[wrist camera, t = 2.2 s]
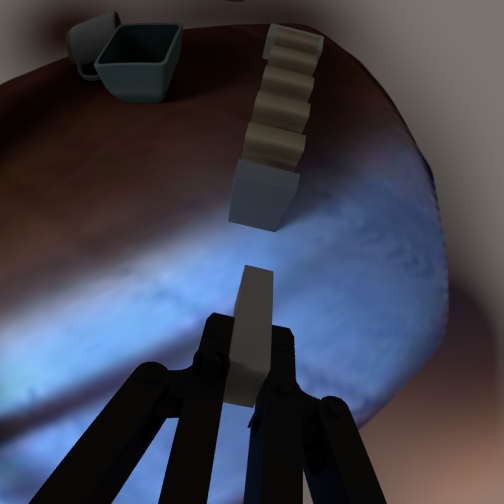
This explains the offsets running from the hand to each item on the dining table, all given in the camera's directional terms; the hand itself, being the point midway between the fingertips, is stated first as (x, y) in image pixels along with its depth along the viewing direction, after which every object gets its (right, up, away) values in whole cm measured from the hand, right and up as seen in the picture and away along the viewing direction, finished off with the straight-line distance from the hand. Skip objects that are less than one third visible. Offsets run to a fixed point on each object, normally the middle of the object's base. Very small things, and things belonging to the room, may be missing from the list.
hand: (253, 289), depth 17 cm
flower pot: (-14, +24, +20) cm, 34 cm away
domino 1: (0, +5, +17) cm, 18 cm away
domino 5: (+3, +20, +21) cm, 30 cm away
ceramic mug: (-23, +32, +22) cm, 45 cm away
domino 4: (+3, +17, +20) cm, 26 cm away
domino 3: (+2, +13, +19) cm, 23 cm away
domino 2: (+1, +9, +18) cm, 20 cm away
